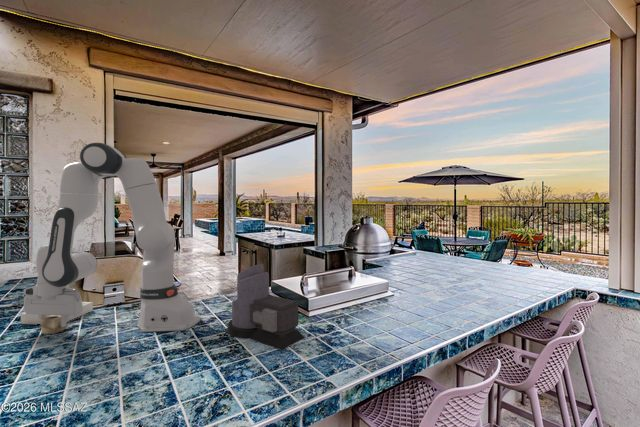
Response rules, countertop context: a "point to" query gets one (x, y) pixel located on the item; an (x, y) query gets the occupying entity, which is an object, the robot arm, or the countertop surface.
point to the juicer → (262, 312)
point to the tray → (35, 319)
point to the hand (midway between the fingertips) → (54, 326)
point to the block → (51, 324)
